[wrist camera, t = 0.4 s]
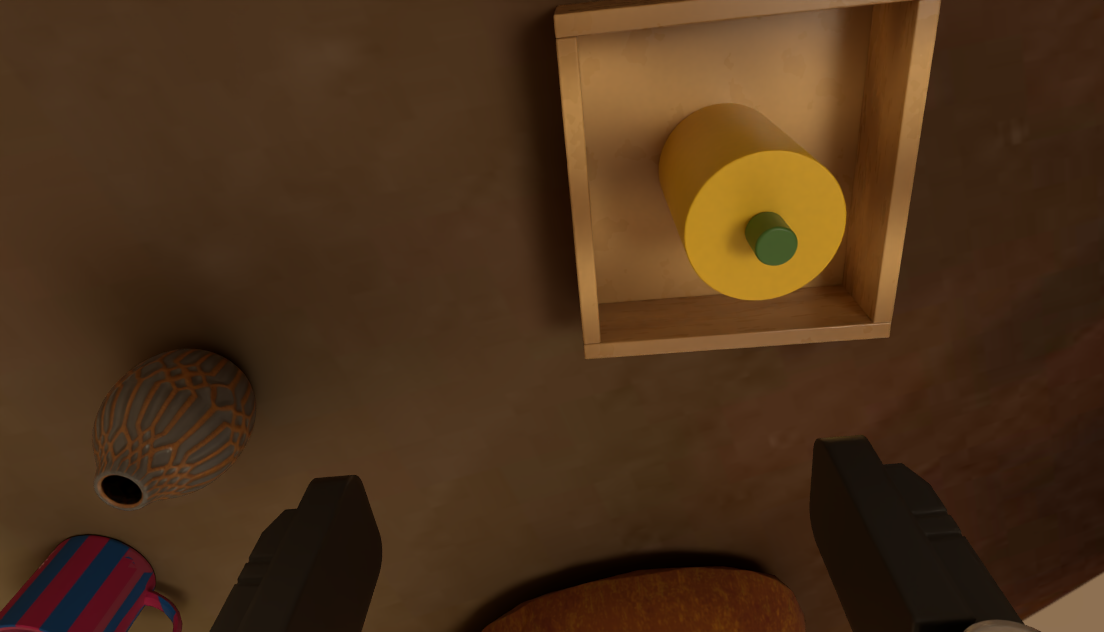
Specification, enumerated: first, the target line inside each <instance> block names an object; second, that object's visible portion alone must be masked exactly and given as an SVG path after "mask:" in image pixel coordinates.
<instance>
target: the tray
mask: <svg viewBox="0 0 1104 632" xmlns="http://www.w3.org/2000/svg"><path fill="white" fill-rule="evenodd" d="M940 5H941V0H604V1H595V2H586V3H576V4H567V5H558V6H557V7H556V10H555V13H554V17H553V18H554V29H555V37H556V50H557V61H558V72H559V83H560V94H561V105H562V115H563V126H564V137H565V148H566V159H567V170H568V181H569V191H570V202H571V213H572V224H573V235H574V246H575V257H576V267H577V278H578V289H579V300H580V311H581V322H582V333H583V342H584V355H585V359H595V358H609V357H623V356H637V355H651V354H665V353H678V352H692V351H706V350H720V349H734V348H748V347H761V346H775V345H789V344H803V343H817V342H831V341H845V340H858V339H872V338H886V337H889V334H890V327H891V321H892V315H893V308H894V302H895V296H896V289H897V283H898V276H899V270H900V263H901V257H902V250H903V244H904V237H905V231H906V224H907V218H908V212H909V205H910V199H911V192H912V186H913V179H914V173H915V166H916V160H917V153H918V147H919V140H920V134H921V128H922V121H923V115H924V108H925V102H926V95H927V89H928V82H929V76H930V69H931V63H932V56H933V50H934V44H935V37H936V31H937V24H938V18H939V11H940ZM720 103H735V104H741V105H745V106H748V107H751V108H753V109H755V110H757V111H758V112H760V113H762V114H763V115H764V116H765V117H767V118H768V119H769V120H770V121H771V122H772V123H774V124H775V125H776V126H777V127H778V128H780V129H781V130H782V131H783V132H784V133H786V134H787V135H788V136H789V137H790V138H791V139H793V140H794V141H795V142H796V143H797V144H799V145H800V146H801V147H802V148H803V149H804V150H806V151H807V152H808V153H809V154H810V155H812V156H813V157H814V158H815V159H816V160H817V161H819V162H820V163H821V164H822V165H823V166H825V167H826V168H827V169H828V170H829V171H830V172H831V174H832V175H833V176H834V177H835V179H836V180H837V182H838V183H839V185H840V188H841V190H842V192H843V195H844V199H845V204H846V225H845V231H844V235H843V238H842V241H841V243H840V246H839V248H838V250H837V252H836V253H835V255H834V257H833V258H832V260H831V261H830V262H829V264H828V265H827V266H826V267H825V269H824V270H823V271H822V272H821V273H820V274H819V275H818V276H816V277H815V278H814V279H813V280H811V281H810V282H809V283H807V284H806V285H804V286H803V287H801V288H799V289H797V290H795V291H793V292H791V293H789V294H786V295H783V296H780V297H776V298H772V299H766V300H742V299H737V298H733V297H729V296H727V295H724V294H722V293H720V292H718V291H716V290H714V289H712V288H711V287H710V286H708V285H707V284H706V283H705V282H704V281H703V280H701V279H700V277H699V276H698V275H697V274H696V272H695V271H694V269H693V268H692V266H691V264H690V262H689V260H688V257H687V255H686V252H685V249H684V247H683V244H682V241H681V239H680V236H679V234H678V231H677V228H676V226H675V223H674V220H673V218H672V215H671V212H670V210H669V207H668V205H667V202H666V199H665V197H664V194H663V191H662V189H661V185H660V181H659V161H660V156H661V152H662V149H663V147H664V144H665V142H666V140H667V139H668V137H669V135H670V134H671V132H672V131H673V130H674V129H675V127H676V126H677V125H678V124H679V123H680V122H681V121H682V120H684V119H685V118H686V117H688V116H689V115H690V114H692V113H694V112H695V111H697V110H700V109H702V108H704V107H707V106H711V105H714V104H720Z"/></svg>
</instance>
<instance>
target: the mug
mask: <svg viewBox="0 0 1104 632" xmlns="http://www.w3.org/2000/svg"><path fill="white" fill-rule="evenodd" d="M155 584H156V580H155V574H154V572H153V569H152V567H151V566H150V564H149V563H148V562H147V560H146V559H145V558H144V557H143V556H142V555H141V554H140V553H138V552H137V551H136V550H134V549H133V548H131V547H129V546H128V545H126V544H124V543H122V542H119V541H117V540H114V539H111V538H107V537H102V536H96V535H82V536H76V537H72V538H69V539H67V540H65V541H63V542H62V543H60V544H59V545H58V546H57V547H56V549H55V550H54V551H53V552H52V553H51V554H50V555H49V557H48V558H47V559H46V560H45V561H44V562H43V563H42V565H41V566H40V567H39V568H38V569H37V570H36V572H35V573H34V574H33V575H32V576H31V577H30V578H29V580H28V581H27V582H26V583H25V584H24V585H23V586H22V588H21V589H20V590H19V591H18V592H17V593H16V595H15V596H14V597H13V598H12V599H11V600H10V601H9V603H8V604H7V605H6V606H5V607H4V608H3V609H2V611H1V612H0V632H127V631H128V630H129V628H130V627H131V625H132V624H133V622H134V621H135V619H136V618H137V616H138V615H139V613H140V612H141V610H142V609H143V607H144V606H145V605H146V606H153V607H155V608H157V609H160V610H161V611H163V612H164V613H165V614H166V615H167V616H168V617H169V618H170V619H171V621H172V622H173V632H181V630H182V621H181V617H180V613H179V611H178V610H177V608H176V606H175V605H174V604H173V603H172V602H171V601H170V600H168V599H167V598H166V597H164V596H162V595H161V594H159V593H157V592H155V591H154V589H155Z"/></svg>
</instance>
